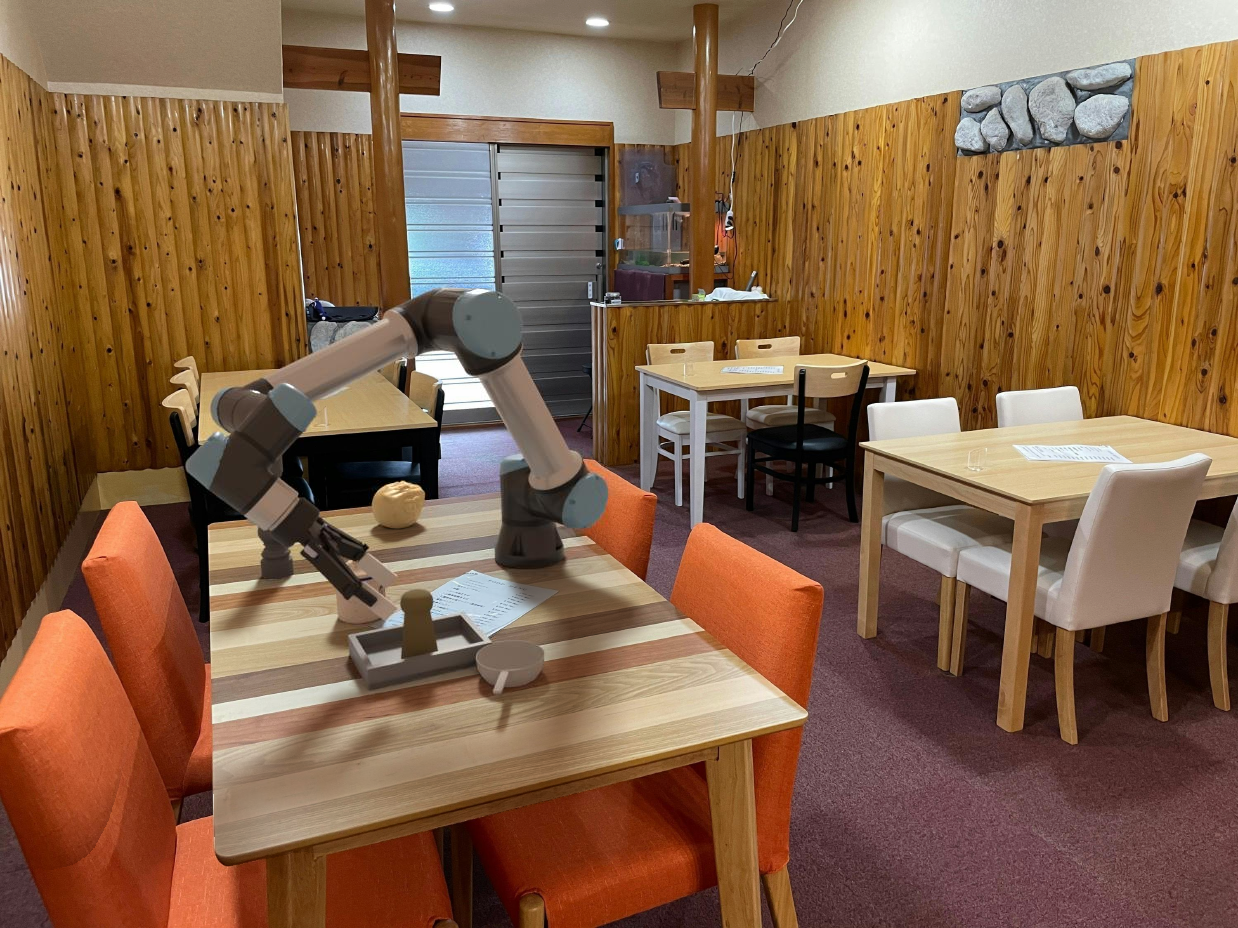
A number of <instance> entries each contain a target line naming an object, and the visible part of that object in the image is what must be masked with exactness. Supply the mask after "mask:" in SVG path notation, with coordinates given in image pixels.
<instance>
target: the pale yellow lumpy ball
mask: <svg viewBox="0 0 1238 928" xmlns="http://www.w3.org/2000/svg"><path fill="white" fill-rule="evenodd" d="M425 498H426V493H425V491H424V490H423V489H422V487H421V486H420V485H418V484H413V483H411V482H406V481H405V480H401V481H400V482H399V481H396V482H393V483H389V484H385V485H384V486H382V487H381V488H379V489H378V490H377V492H376V493H375V494H374V496H373V498H372V503H371V512H372V514H373V518H374V519H375V521H376V522H377V523H378V524H380V525H381V526H383V527H386V528H390V529H404V528H409V527H410V526H412V525H414V524H415V523H416V522H417V521H418V520H419V517H420V515H421V513H422V509H423V508H424V507H425V503H426V500H425Z"/></svg>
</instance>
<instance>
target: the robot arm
mask: <svg viewBox="0 0 1238 928" xmlns="http://www.w3.org/2000/svg"><path fill="white" fill-rule="evenodd" d="M382 316H383V317H382V319H380V320H378V321H377V322H374V323H373V324H371V325H368V326H366V327H364V328H362V329H361V330H358V331H356V332H354V333H351V334H350V335H348V336H346V337H343V338H342V339H339V340H336V341H335V342H334V343H330V344H328V345H327V346H325V347H322V348H320V349H319V350H317V351H314V352H312V353H310V354H309V355H306V356H304V357H301V358H300V359H297V360H296V361H294V362H291V363H290V364H288V365H287V364H286V366H283V367H281V368H279V369H277V370H275V371H273V372H271V373H269V374H267V375H264V376H262V377H260V378H258V379H256V380H254V381H251V382H248V383H247V384H245V385H243V386H229V387H228V386H227V387H225V388H223V389H221V390H219V391H218V392H216V394H215V395H214V396H213V398H212V400H211V403H210V407H209V408H210V409H209V410H210V414H211V415H210V416H211V418H212V420H213V422H214V423H215V424H216V425H217V426H218V427H219V428H221V429H222V430H224V431H226V432H227V433H228V434H229V435H227V434H224V433H223V432H221V431H219V430H218V431H214V432H213V433H212V434H211V435H210V436H209V437H208V438H207V439H206V440H205V441H204V442H203V443H202V444H201V445H200V446H199V447H198V448H197V449H196V450H195V451H194V453H193V454H192V455H191V456H190V457H189V458H188V459H187V460H186V462H185V469H186V470H185V471H186V472H187V473H188V474H190V476H192V477H193V478H194V479H195V480H196V481H198V482H199V483H200V484H201V485H202V486H204V487H205V489H207V490H208V491H209V492H211V493H212V494H214V495H215V496H216V497H217V498H219V499H220V500H222V501H224V503H226V504H227V505H229V506H230V507H232V509H234V510H235V511H237V512H239V514H241V515H242V516H244V517H245V518H246V519H247V520H246V521H247V523H248V524H249V525H253V524H254V525H256V526H257V528H258V527H260V528H261V529H262V530H264V531H266V530H268V529H269V530H270V533H269V534H270V536H271V537H272V538H273V539H275V540H276V541H277V542H279V543H280V544H281V545H283V546H284V547H286V548H289V549H290V548H292V547H293V546H294V545H295V544H297V543H299V544H300V545H301V547H303V549H301V550H300V551H299V553H300V555H301V557H303V558H304V559H305V560H307V561H308V562H309V563H310V564H311V565H312V566H313V567H314V568H315V569H316V570H317V571H318V572H319V573H320V574H321V575H322V576H323V577H324V578H325V579H326V580H327V581H328V583H330V584H331V585H332V586H333V587H334V588H335V590H336V589H337V590H338V591H339V592H340V593H341V594H342V595H343V597H344V598H345V599H346V600H349V599H350V598H351V597H352V596H353V597H354V598H355V599H357V600H358V601H359V602H361V603H362V604H363V605H364V606H366V607H367V608H368V609H370V610H371V611H372V612H374V613H375V614H376V615H378V616H379V617H380V619H381V620H383V621H384V622H386V621H387V620H388V619H389V618H390V617H391V616H392V615H393V614H394V613H395V611H396V610H398V606H397V605H396V604H395V603H393V602H392V601H391V600H390V599H388V598H387V597H384V596H383V595H382V594H380V593H379V592H378V591H377V590H375V589H374V588H373V587H371V586H370V585H369V584H367V583H366V582H365V581H364V582H363V583H362V582H361V581H360V580H359V578H358V577H357V576H356V575H355V574H354V572H353V571H352V570H351V569H350V568H349V566H348V565H347V564H346V561H345V560H344V559H343V558H345V559H347V560H348V561H349V560H352V561H355V562H357V560H358V562H357V563H356V566H357V567H359V568H360V569H361V570H363V571H364V572H365V573H366V574H368V575H369V576H370V577H372V578H373V579H374V580H376V581H377V582H378V583H379V584H381V585H382V586H383V587H385V590H386V589H388V588H389V586H391V585H392V584H393V582H395V580H397V578H398V575H397V574H396V573H395V572H393V571H392V570H391V569H390V568H388V567H387V566H386V565H385V564H383V563H382V562H381V561H380V560H378V559H377V558H376V557H375V556H373V555H372V554H370V553H369V552H368V550H369V549H370V546H369V545H368V544H367V543H363V542H362V541H360V540H358V539H357V538H354V537H353V536H351V535H349V534H348V533H346V532H344V531H343V530H341V529H339V528H338V527H335V526H334V525H332V524H330V522H328V521H326V520H325V519H323V517H321V516H320V514H321V513H320V508H318V507H317V506H316V505H314V504H313V503H311V502H310V501H309V500H308V499H306V498H305V497H298V496H299V492H298V491H297V490H295V488H293V487H292V486H290V485H289V484H288V483H286V482H285V481H284V480H282V479H281V477H280V478H279V477H277V476H276V475H274V474H273V473H272V472H271V471H270V470H269V469H270V468H271V467H272V466H273V465H274V464H275V463H276V461H277V460H278V459H279V458H280V457H281V456H282V457H283V454H284V453H286V451H287V450H288V449H289V448H290V447H291V446H292V445H294V443H295V442H296V441H297V440H298V439H299V437H301V435H302V434H304V433H305V432H306V431H307V430H308V429H307V428H308V427H309V426H310V425H311V424H312V422H313V421H314V420H315V418H316V417H317V415H318V410H317V407H316V406H315V404H314V403H316V402H318V401H320V400H323V399H324V398H326V397H328V396H330V395H331V394H333V393H336V392H338V391H339V390H341V389H343V388H346V387H348V386H350V385H351V384H354V383H355V382H357V381H359V380H361V379H363V378H365V377H367V376H368V375H371V374H372V373H375V372H376V371H377V372H378V370H381V369H383V368H384V367H387V366H388V365H391V364H392V363H394V362H396V361H398V360H400V359H402V358H405V359H408V360H412V359H415V358H416V357H418V356H420V355H423V354H426V353H431V352H439V351H443V352H450V353H454V354H455V357H457V359H458V361H459V363H460V365H461V366H462V369H463V370H464V372H465V373H466V375H468V376H470V377H474V378H478V379H479V381H480V383H481V385H482V386H483V388H484V390H485V391H486V393H487V395H488V397H489V399H490V401H491V402H492V405H493V407H494V408H495V409H496V412H497V413H498V415H499V416H500V418H501V420H502V422H503V424H504V425H505V427H506V429H507V430H508V433H509V434H510V436H511V438H512V439H513V441H514V443H515V444H516V447H517V448H518V450H519V452H520V453H517V454H511V455H510V454H509V455H508V456H505V457H504V458H502V459H501V461H500V464H499V475H498V476H499V486H500V506H501V507H500V508H501V525H500V529H499V533H498V535H497V539H496V542H495V544H494V545H495V547H494V560H495V561H496V562H497V563H498V564H499V565H502V566H505V567H509V568H515V569H516V568H517V569H537V568H543V567H548V566H553V565H554V564H557V563H560V562H561V561H563V559H564V557H565V546H564V543H563V540H562V537H561V534H560V531H559V529H558V526H557V524H558V525H562V526H565V527H566V528H569V529H576V530H585V529H588V528H590V527H592V526H594V525H595V524H596V523H597V522H598V521H599V520H600V519H601V517H602V516H603V515H604V513H605V510H606V508H607V503H608V501H609V494H610V493H609V487H608V484H607V482H606V480H605V479H604V477H602V476H601V475H599V474H598V473H595V472H590V470H589V469H588V466H587V465H586V463H585V461H584V459H583V457H582V456H581V454H580V453H579V452H578V451H575V450H571V449H570V448H569V446H568V445H567V443H566V441H565V439H564V437H563V436H562V434H561V432H560V430H559V427H558V426H557V424H556V422H555V420H554V418H553V416H552V414H551V413H550V410H549V408H548V407H547V405H546V403H545V401H544V399H543V398H542V397H543V396H541V393H540V392H539V389H538V388H537V386H536V384H535V382H534V381H533V378H532V377H531V374H530V372H529V371H528V369H527V366H526V365H525V363H524V361H523V359H522V357H521V354H522V351H523V348H524V343H523V341H522V338H523V332H522V329H523V327H524V324H523V323H524V322H523V317H522V315H521V312H520V309H519V308H518V306H517V305H516V304H515V302H514V301H513V300H512V299H510V297H508V296H507V295H506V294H504V293H502V292H499V291H497V290H492V289H489V288H485V287H474V288H463V287H452V286H451V287H450V286H443V287H438V288H434V289H431V290H428V291H426V292H423V293H421V294H419V295H417V296H415V297H412V298H410V299H408V300H406V301H405V302H403V303H401V304H398V305H396V306H395V307H392V308H390V309H388V310H386V311H385V312H384V313H383V315H382Z"/></svg>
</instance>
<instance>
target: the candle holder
mask: <svg viewBox="0 0 1238 928" xmlns="http://www.w3.org/2000/svg"><path fill="white" fill-rule="evenodd" d="M269 470H270V471H271V472H272V473H273V474H274V475H276V476H277V477H279V478H280V479H281V477H282V475H283V472H284V468H283V455H282V456H281V457H280V458H279V459H278V460H277V461H276V463H275V464H274V465H273V466H272V467H271V468H270V469H269ZM269 533H270V530H269V529H268V530H266V531H264V530H262V529H261V528H260V527H258V526H257V536H258V538H259V540H261V542H262V543H263V546H264V547H263V549H262V551H261V554H260V557H262V558H261V560H260V561H259V562H260V571H261V577H262V578H263V579H264V578H265V579H264V580H268V579H277V580H282V578H283V579H287V578H289V576H290V577H291V576H293V575H294V572H295V571H294V560H293V559H294V558H293V556H292V555H291V551H292V550H291V549H290V547H289V548H286V547H284V546H283V545H281V544H280V543H279V542H277V541H276V540H275V539H273V538H272V537H271V536H270V534H269ZM286 577H287V578H286Z"/></svg>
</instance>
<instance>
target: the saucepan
mask: <svg viewBox="0 0 1238 928" xmlns="http://www.w3.org/2000/svg"><path fill="white" fill-rule="evenodd" d="M476 663H477V666H476V667H477V671H478V672H479V674H480V675H481V677H482V678H483V679H484V680H485V682H487V683H488V684H489V685H492V686H494V688H493V690H492V693H493V694H494V695H500V694H502V693H503V690H504V688H515V687H517V688H518V687H521V686H524V685H528V684H529V682H530V683H531V681H532V682H533V681H535V680H536V679H537V678H538V676H539V674H540V673H541V671H542V670H543V667H544V664H545V650H544V649H543V647H541V646H540V645H538V644H536V643H534V642H531V641H527V640H520V639H519V640H517V639H516V640H515V639H513V640H509V639H508V640H503V641H502V640H501V641H496V642H492V644H490V645H487V646H485V647H483V648H482V649H480V650H479V651H478V653H477V654H476ZM527 683H528V684H527Z"/></svg>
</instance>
